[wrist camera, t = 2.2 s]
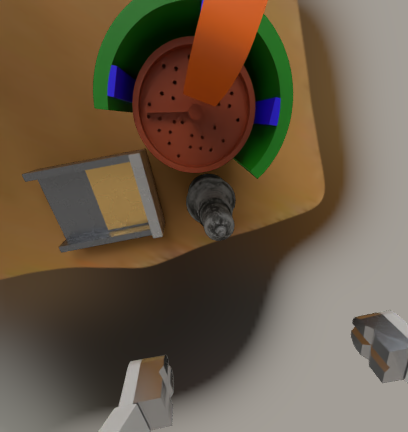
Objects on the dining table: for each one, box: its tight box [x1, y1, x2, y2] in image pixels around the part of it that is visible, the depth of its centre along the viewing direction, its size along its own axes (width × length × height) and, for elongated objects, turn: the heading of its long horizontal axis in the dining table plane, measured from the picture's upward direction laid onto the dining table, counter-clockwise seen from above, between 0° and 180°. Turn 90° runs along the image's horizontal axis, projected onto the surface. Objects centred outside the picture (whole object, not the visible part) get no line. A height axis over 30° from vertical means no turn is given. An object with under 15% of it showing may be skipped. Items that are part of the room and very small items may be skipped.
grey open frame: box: [22, 149, 165, 252], centre depth 27 cm, size 13×10×4 cm
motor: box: [93, 0, 293, 179], centre depth 16 cm, size 10×9×20 cm
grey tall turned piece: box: [186, 174, 236, 241], centre depth 24 cm, size 6×6×12 cm
